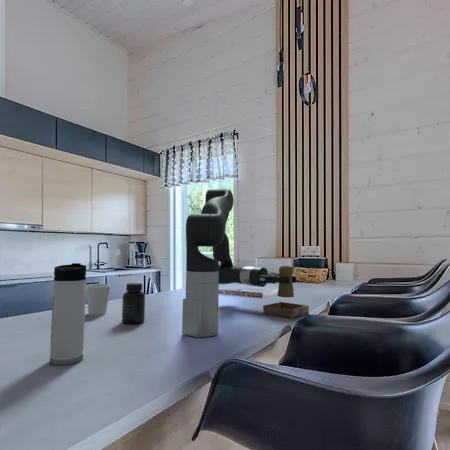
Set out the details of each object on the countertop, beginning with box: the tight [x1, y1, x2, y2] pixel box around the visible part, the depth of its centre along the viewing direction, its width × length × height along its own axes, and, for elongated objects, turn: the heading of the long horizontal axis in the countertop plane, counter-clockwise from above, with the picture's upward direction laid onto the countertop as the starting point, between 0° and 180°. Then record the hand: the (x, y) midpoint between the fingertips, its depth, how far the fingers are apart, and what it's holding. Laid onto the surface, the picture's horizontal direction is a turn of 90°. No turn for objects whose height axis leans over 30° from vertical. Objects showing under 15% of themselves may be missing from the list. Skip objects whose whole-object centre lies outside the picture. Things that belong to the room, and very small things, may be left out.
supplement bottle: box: [121, 282, 146, 326], centre depth 107 cm, size 7×7×12 cm
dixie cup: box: [86, 283, 111, 316], centre depth 119 cm, size 8×8×10 cm
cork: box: [277, 265, 295, 298], centre depth 124 cm, size 6×6×11 cm
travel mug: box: [49, 262, 87, 366], centre depth 71 cm, size 6×7×20 cm
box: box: [262, 301, 310, 320], centre depth 123 cm, size 12×12×3 cm
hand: (292, 280), depth 122 cm, fingers closed on cork, 4 cm apart
